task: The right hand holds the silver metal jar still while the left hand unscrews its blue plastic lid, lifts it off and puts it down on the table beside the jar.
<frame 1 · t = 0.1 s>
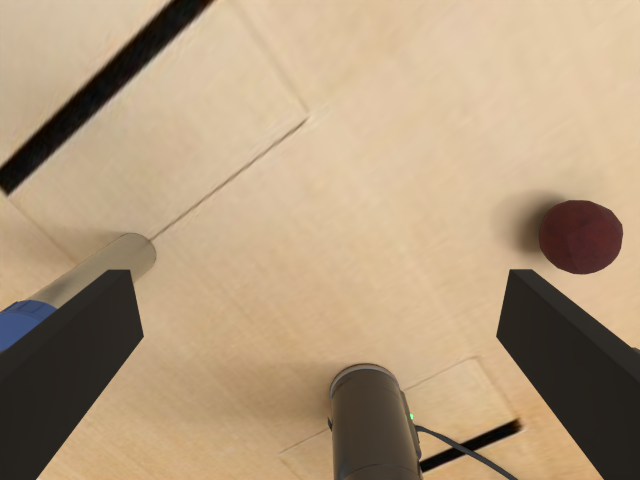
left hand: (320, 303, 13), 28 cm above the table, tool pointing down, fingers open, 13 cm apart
plum: (557, 224, 41), on the table
lid: (25, 341, 27), point 17 cm above the table, screwed on, not yet turned
jar: (135, 252, 42), on the table
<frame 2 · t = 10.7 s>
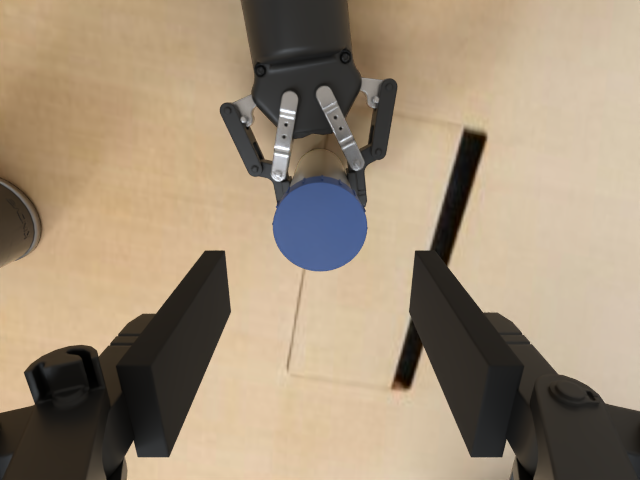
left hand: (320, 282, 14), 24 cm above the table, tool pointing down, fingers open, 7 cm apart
right hand: (324, 215, 32), fingers closed on jar, 5 cm apart
lid: (320, 226, 21), point 17 cm above the table, screwed on, not yet turned
jar: (320, 173, 37), on the table, touching right hand
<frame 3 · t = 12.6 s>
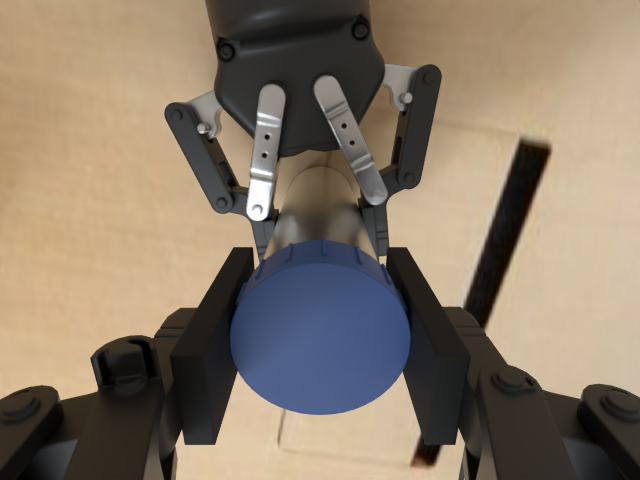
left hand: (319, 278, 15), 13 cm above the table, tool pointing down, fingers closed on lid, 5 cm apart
right hand: (326, 265, 22), fingers closed on jar, 5 cm apart
lid: (320, 338, 11), point 17 cm above the table, screwed on, not yet turned, touching left hand
jar: (320, 199, 27), on the table, touching right hand
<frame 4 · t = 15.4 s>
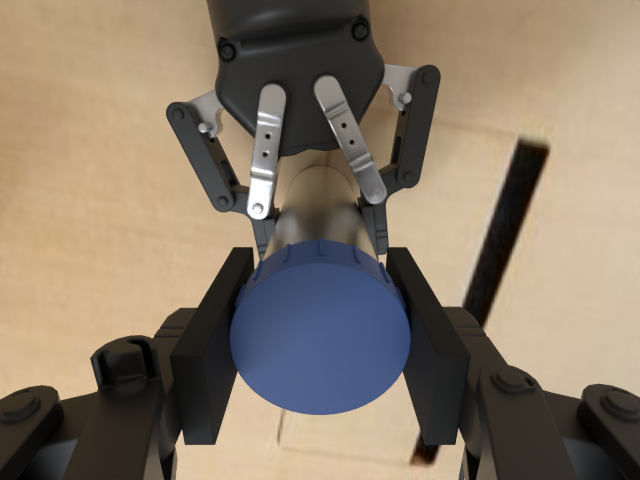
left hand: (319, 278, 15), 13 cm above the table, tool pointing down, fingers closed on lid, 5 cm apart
right hand: (326, 264, 22), fingers closed on jar, 5 cm apart
lid: (320, 338, 11), point 17 cm above the table, turned 69° so far, risen 0.2 cm, still on its thread, touching left hand
jar: (320, 198, 27), on the table, touching right hand
when the left hand's fingers open (0 cm above the table, at t = 22.4 s): lid stays where it is, point 1 cm above the table.
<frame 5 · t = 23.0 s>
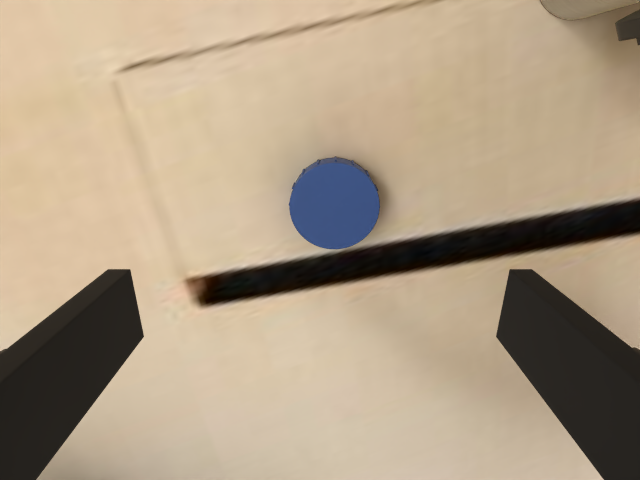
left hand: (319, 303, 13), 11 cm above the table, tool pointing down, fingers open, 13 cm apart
lid: (334, 206, 22), point 1 cm above the table, off its thread
when the right hand's fingers open (6 cm above the table, at t = 23.1 s): jar stays where it is, on the table.
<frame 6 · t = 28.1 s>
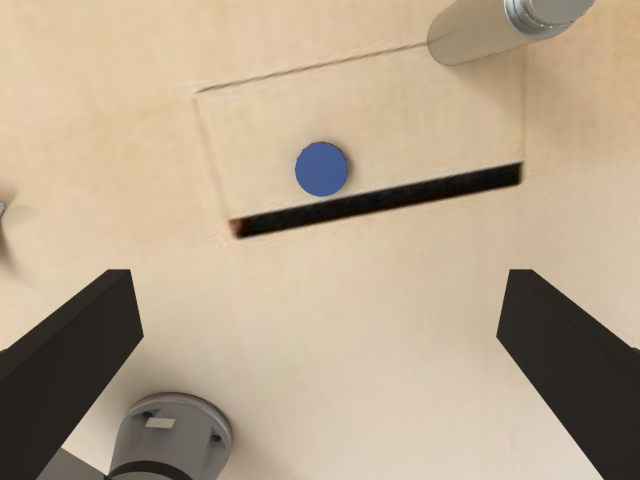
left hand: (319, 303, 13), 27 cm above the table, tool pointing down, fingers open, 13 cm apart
lid: (321, 170, 37), point 1 cm above the table, off its thread
jar: (452, 37, 34), on the table
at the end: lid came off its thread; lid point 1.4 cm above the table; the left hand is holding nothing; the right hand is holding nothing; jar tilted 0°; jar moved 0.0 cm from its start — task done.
